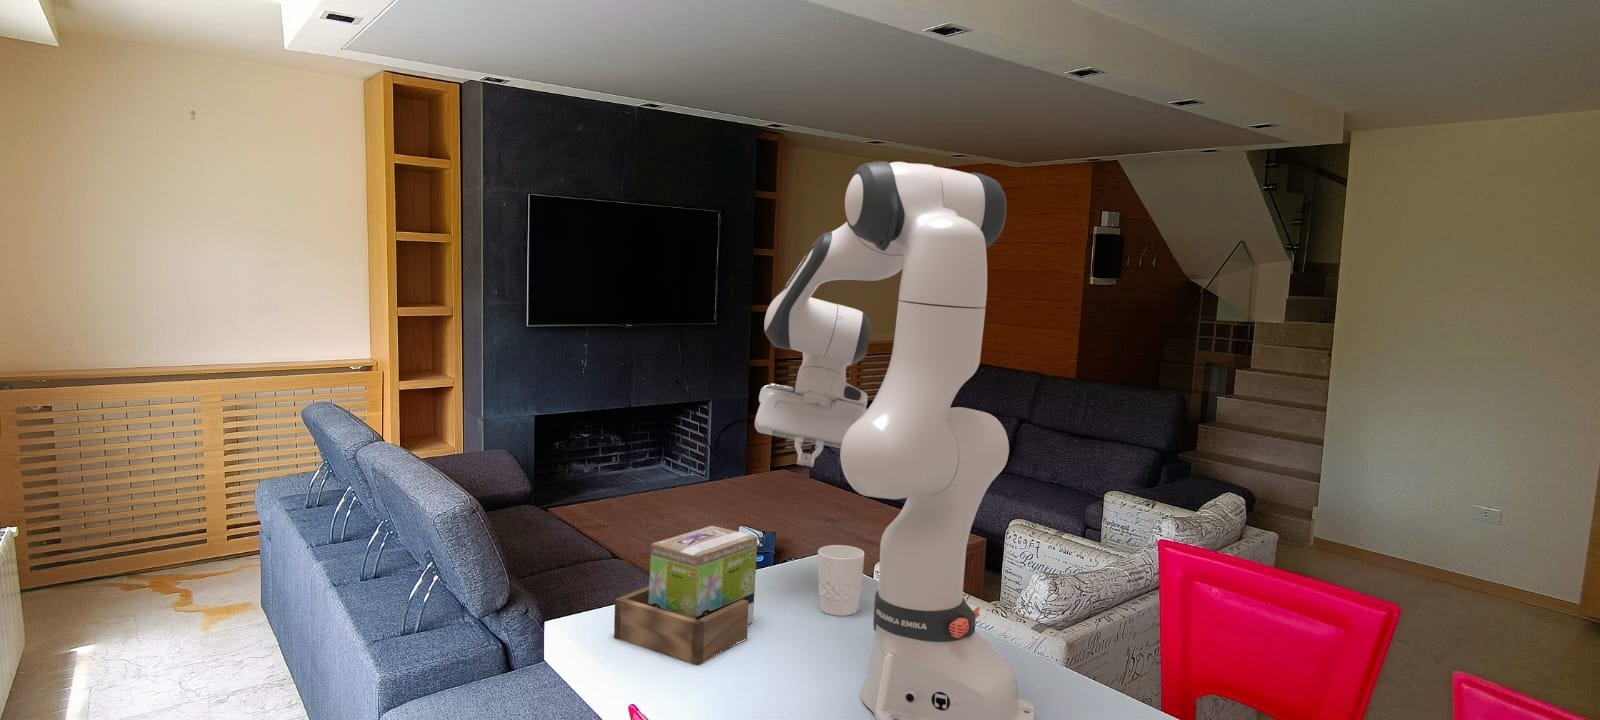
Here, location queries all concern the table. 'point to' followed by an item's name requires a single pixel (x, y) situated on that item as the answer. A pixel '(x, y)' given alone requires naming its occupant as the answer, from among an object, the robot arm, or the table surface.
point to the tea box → (703, 572)
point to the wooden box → (678, 628)
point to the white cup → (840, 579)
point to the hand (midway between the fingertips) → (805, 464)
